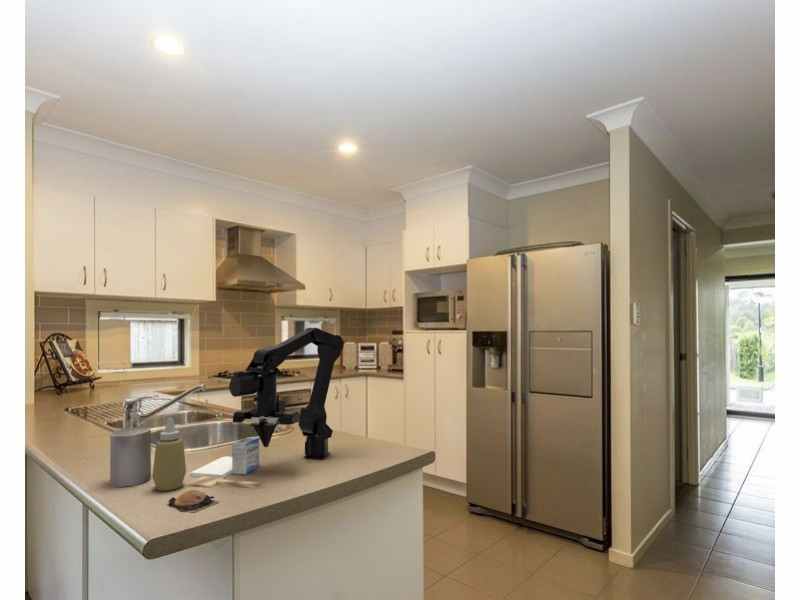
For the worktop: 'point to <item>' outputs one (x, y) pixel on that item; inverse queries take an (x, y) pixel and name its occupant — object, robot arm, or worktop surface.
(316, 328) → the robot arm
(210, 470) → the mat
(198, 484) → the wooden turner
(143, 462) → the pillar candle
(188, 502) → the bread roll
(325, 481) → the worktop surface
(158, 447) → the squeeze bottle
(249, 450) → the medicine box
